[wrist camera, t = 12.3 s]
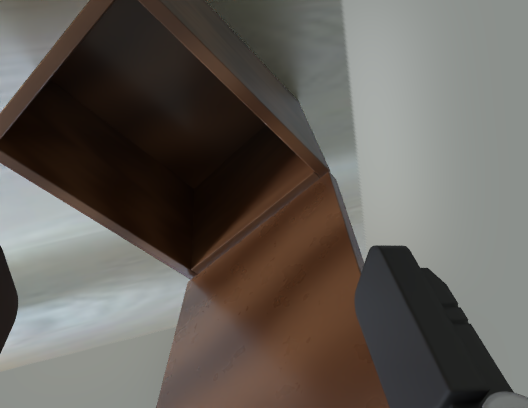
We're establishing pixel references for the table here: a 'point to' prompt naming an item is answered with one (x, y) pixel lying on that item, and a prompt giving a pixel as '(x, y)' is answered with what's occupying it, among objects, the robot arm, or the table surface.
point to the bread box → (161, 130)
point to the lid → (277, 318)
